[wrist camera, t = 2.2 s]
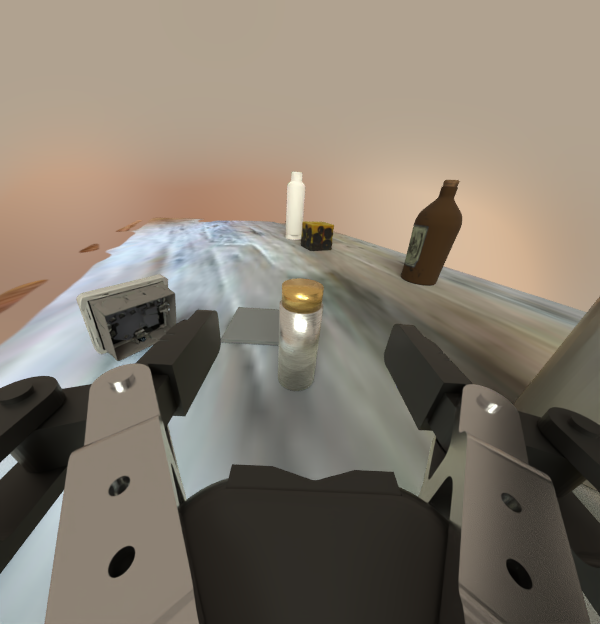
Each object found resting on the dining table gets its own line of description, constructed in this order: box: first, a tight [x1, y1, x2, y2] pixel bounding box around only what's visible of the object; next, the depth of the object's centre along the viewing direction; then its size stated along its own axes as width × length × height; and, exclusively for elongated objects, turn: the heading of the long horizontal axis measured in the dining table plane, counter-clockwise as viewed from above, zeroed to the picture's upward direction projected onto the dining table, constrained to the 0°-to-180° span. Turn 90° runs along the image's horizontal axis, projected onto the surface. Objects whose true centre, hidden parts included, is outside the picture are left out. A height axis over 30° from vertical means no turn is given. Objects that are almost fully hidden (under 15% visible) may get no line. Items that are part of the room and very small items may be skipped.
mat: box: [221, 307, 280, 345], centre depth 36 cm, size 10×10×1 cm
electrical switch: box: [76, 274, 176, 361], centre depth 28 cm, size 9×5×9 cm, turn 148°
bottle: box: [286, 172, 305, 240], centre depth 102 cm, size 8×8×28 cm
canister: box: [278, 279, 324, 391], centre depth 24 cm, size 4×4×12 cm
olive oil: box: [401, 180, 462, 285], centre depth 58 cm, size 11×11×25 cm
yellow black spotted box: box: [301, 222, 334, 251], centre depth 90 cm, size 10×10×10 cm
